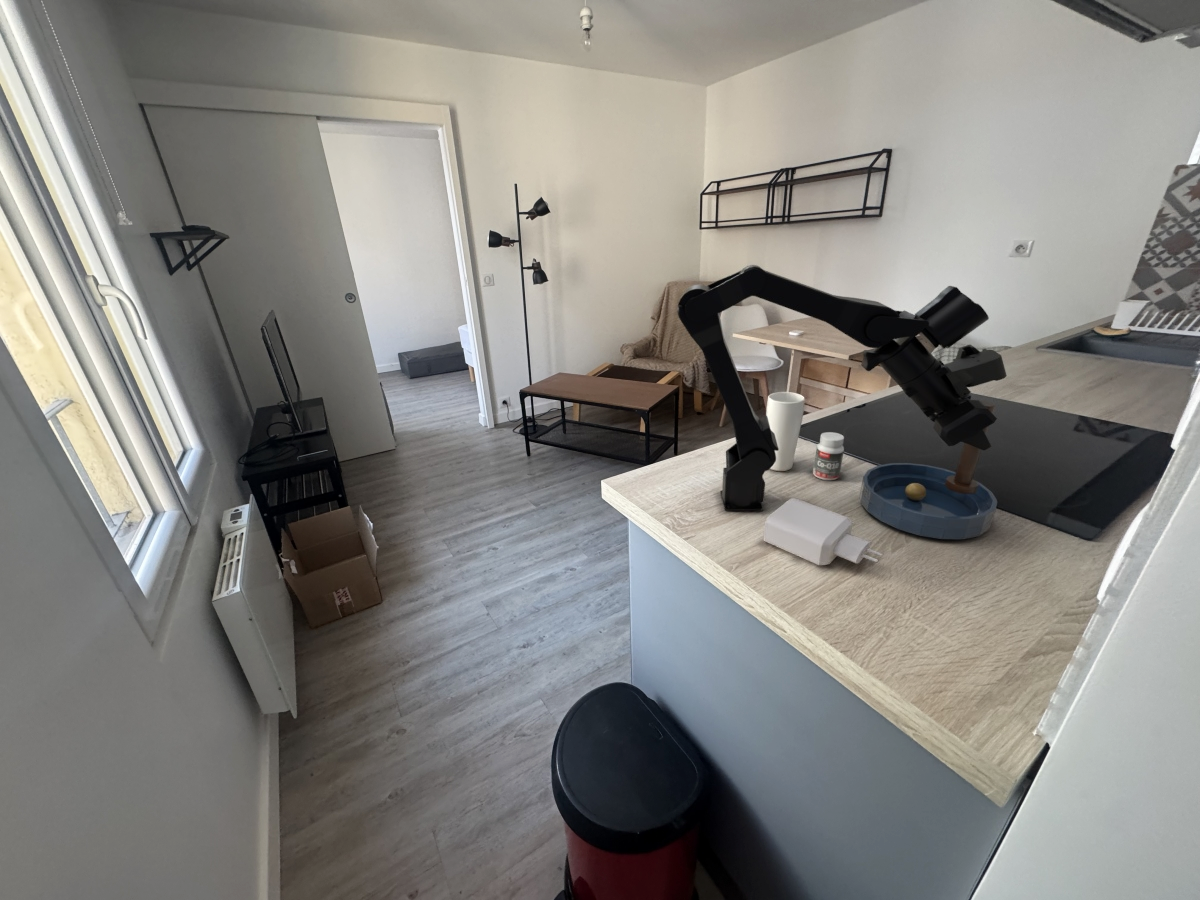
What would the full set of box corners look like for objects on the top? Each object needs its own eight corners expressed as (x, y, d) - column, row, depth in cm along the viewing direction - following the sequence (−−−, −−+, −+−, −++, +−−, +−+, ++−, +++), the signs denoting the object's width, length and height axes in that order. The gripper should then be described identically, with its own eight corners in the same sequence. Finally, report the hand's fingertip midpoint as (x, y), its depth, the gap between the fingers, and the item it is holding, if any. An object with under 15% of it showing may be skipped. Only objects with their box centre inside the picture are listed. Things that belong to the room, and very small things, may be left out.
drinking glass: (799, 474, 93) (808, 403, 86) (763, 473, 94) (769, 402, 88) (793, 459, 98) (801, 391, 92) (759, 458, 100) (765, 391, 94)
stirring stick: (967, 496, 71) (994, 410, 65) (939, 486, 74) (962, 402, 68) (981, 489, 73) (1009, 404, 67) (954, 479, 76) (978, 397, 70)
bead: (908, 503, 79) (912, 488, 78) (900, 494, 82) (903, 479, 81) (927, 503, 79) (931, 488, 78) (918, 494, 82) (922, 479, 80)
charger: (863, 589, 63) (762, 543, 73) (888, 557, 69) (791, 519, 79) (870, 560, 61) (765, 518, 71) (895, 530, 67) (794, 495, 77)
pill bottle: (812, 479, 91) (818, 439, 87) (812, 468, 94) (818, 430, 91) (839, 482, 89) (846, 442, 85) (838, 471, 93) (845, 432, 89)
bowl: (887, 543, 72) (893, 518, 70) (843, 484, 88) (847, 463, 86) (1017, 544, 69) (1027, 518, 68) (947, 484, 86) (953, 462, 84)
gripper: (998, 347, 57) (1080, 437, 58) (951, 319, 72) (1017, 391, 74) (909, 404, 63) (985, 485, 64) (884, 367, 78) (945, 433, 79)
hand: (984, 444), depth 70 cm, fingers closed on stirring stick, 2 cm apart
